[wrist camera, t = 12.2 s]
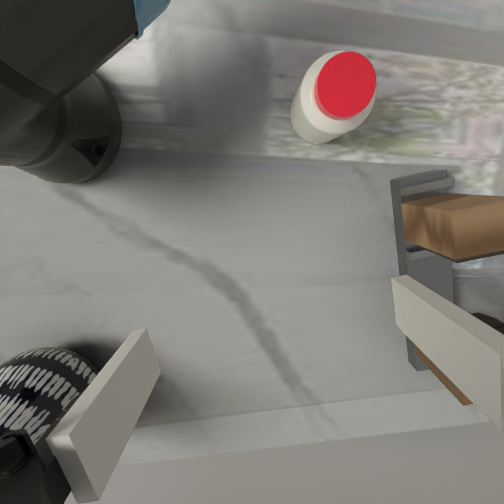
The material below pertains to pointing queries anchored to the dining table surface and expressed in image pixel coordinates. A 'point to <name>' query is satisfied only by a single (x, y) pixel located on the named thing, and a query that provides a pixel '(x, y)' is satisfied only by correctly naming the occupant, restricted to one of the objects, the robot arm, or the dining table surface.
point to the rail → (424, 259)
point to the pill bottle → (333, 97)
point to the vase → (40, 388)
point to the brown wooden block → (456, 225)
